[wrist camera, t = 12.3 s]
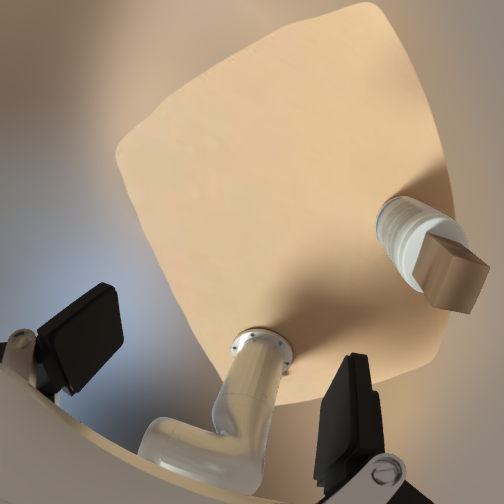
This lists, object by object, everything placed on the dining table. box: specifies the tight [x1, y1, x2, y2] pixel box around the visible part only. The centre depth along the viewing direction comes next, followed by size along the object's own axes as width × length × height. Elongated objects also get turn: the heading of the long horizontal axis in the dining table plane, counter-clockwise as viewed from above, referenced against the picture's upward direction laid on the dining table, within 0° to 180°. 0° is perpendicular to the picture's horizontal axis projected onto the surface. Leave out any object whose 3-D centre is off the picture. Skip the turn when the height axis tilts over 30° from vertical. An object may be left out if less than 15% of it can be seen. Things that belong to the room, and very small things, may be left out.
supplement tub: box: [375, 196, 468, 293], centre depth 31 cm, size 10×10×15 cm
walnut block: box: [412, 232, 490, 314], centre depth 22 cm, size 5×5×7 cm
